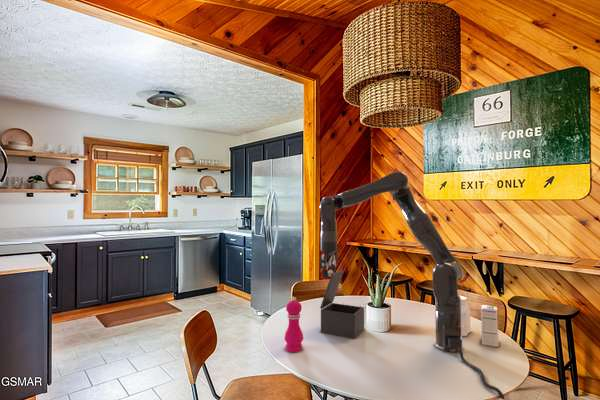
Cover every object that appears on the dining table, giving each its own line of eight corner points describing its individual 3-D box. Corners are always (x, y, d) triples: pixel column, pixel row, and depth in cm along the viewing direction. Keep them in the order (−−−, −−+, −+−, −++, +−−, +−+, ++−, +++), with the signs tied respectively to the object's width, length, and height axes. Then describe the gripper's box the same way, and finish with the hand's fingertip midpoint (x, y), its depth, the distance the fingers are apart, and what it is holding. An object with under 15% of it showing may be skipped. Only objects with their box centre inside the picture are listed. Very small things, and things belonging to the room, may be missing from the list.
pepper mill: (302, 345, 138) (302, 294, 138) (303, 352, 130) (303, 299, 131) (284, 345, 137) (284, 294, 138) (284, 353, 130) (284, 299, 130)
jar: (449, 325, 160) (449, 292, 160) (472, 330, 154) (471, 296, 154) (441, 332, 151) (441, 297, 151) (465, 337, 145) (464, 301, 145)
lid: (343, 270, 160) (334, 265, 163) (333, 275, 149) (322, 269, 152) (332, 302, 163) (323, 297, 165) (321, 309, 152) (311, 303, 154)
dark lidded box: (364, 329, 155) (364, 307, 155) (354, 338, 144) (354, 314, 144) (332, 323, 163) (332, 302, 163) (320, 332, 152) (320, 309, 152)
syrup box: (498, 347, 135) (498, 309, 135) (481, 344, 138) (480, 307, 138) (498, 342, 140) (497, 306, 140) (481, 339, 143) (481, 304, 143)
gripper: (330, 242, 149) (330, 280, 149) (342, 239, 162) (342, 274, 162) (314, 241, 153) (314, 278, 153) (327, 238, 165) (327, 273, 165)
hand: (329, 276), depth 157 cm, fingers open, 8 cm apart
